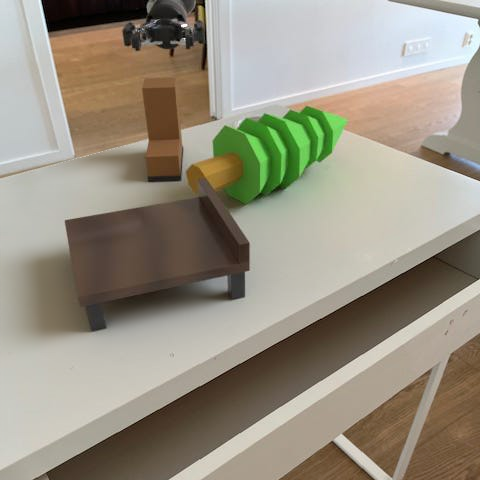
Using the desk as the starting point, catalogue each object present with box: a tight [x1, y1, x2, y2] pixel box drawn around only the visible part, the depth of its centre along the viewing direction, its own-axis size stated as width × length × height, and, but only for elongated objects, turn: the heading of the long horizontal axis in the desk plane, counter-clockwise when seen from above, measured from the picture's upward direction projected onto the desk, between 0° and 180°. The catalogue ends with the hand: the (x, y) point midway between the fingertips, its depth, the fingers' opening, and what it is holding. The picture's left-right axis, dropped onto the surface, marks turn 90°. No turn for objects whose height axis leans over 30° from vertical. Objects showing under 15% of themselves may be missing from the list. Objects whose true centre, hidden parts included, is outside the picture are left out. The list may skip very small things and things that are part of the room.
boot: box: [141, 76, 184, 183], centre depth 81 cm, size 5×12×12 cm, turn 3°
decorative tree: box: [185, 105, 349, 205], centre depth 76 cm, size 11×12×30 cm
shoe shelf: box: [64, 178, 251, 332], centre depth 59 cm, size 18×16×7 cm
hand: (162, 43), depth 86 cm, fingers open, 8 cm apart
